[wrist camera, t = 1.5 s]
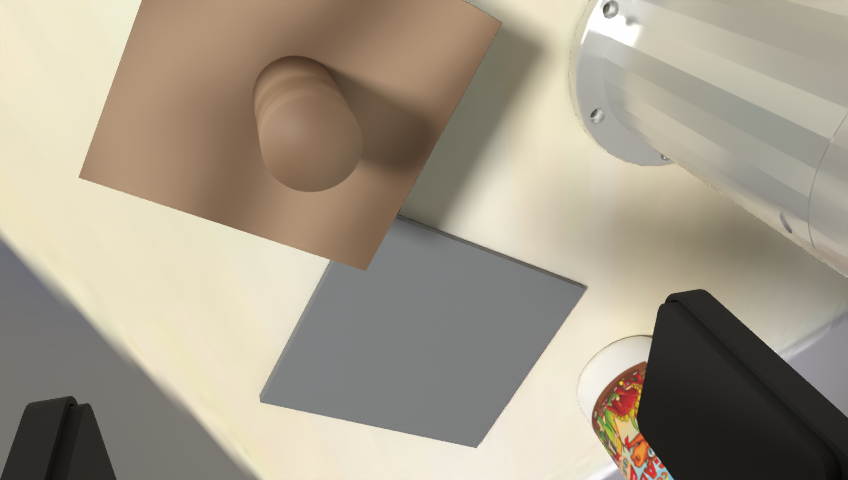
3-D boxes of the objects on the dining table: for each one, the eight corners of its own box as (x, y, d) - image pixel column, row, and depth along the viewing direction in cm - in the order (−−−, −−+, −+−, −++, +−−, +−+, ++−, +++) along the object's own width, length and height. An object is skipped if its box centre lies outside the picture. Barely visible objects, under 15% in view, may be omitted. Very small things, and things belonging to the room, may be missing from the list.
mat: (581, 284, 43) (585, 289, 43) (473, 441, 48) (476, 448, 47) (361, 201, 36) (363, 206, 36) (259, 395, 41) (260, 402, 40)
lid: (493, 17, 27) (557, 54, 22) (361, 259, 31) (390, 338, 26) (196, -152, 22) (192, -152, 17) (83, 166, 26) (52, 243, 21)
